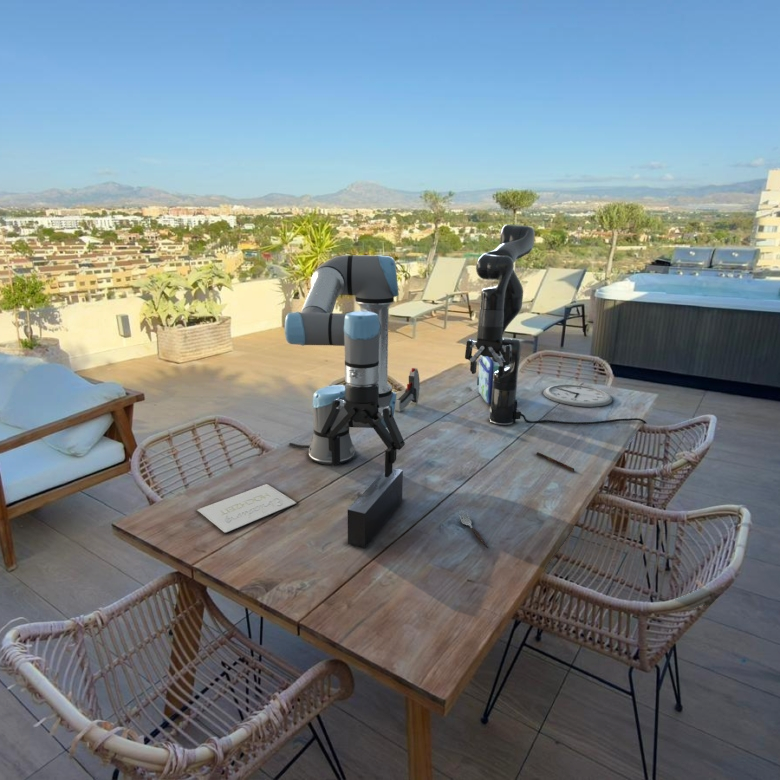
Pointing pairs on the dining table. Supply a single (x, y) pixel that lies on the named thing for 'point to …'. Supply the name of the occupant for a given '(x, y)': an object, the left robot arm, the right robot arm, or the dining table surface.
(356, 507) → the bar
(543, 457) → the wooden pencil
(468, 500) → the dining table surface
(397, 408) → the toy gun
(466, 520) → the fork
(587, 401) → the wall clock
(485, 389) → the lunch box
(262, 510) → the invitation card
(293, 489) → the dining table surface
